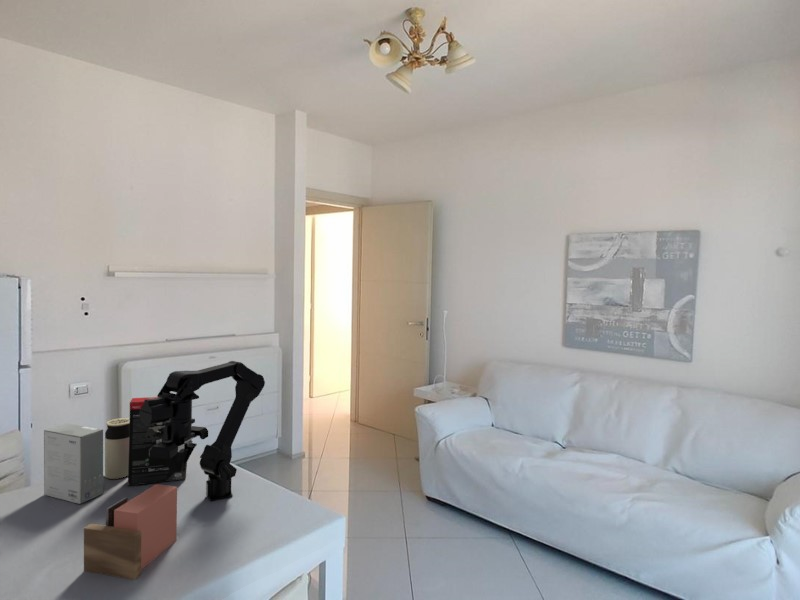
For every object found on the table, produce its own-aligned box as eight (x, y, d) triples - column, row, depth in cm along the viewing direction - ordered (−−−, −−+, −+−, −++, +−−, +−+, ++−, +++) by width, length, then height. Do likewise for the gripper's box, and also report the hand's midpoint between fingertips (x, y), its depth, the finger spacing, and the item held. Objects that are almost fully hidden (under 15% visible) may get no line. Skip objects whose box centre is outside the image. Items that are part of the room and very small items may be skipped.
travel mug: (132, 477, 158) (133, 423, 157) (104, 481, 154) (104, 426, 153) (132, 468, 164) (133, 416, 164) (105, 472, 161) (105, 419, 160)
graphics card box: (187, 472, 163) (188, 393, 162) (187, 480, 157) (188, 398, 155) (130, 479, 156) (130, 396, 155) (127, 488, 150) (128, 402, 148)
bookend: (110, 551, 116) (111, 494, 116) (127, 553, 116) (127, 497, 115) (90, 565, 111) (90, 506, 110) (108, 568, 110) (108, 509, 109)
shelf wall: (91, 565, 111) (91, 523, 110) (141, 574, 108) (141, 531, 108) (83, 571, 109) (83, 528, 108) (134, 579, 106) (134, 535, 106)
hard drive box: (104, 494, 145) (104, 429, 144) (80, 505, 138) (80, 437, 137) (67, 484, 150) (67, 422, 149) (42, 495, 143) (42, 429, 142)
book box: (155, 537, 123) (156, 484, 123) (176, 540, 122) (177, 486, 121) (113, 569, 109) (114, 510, 109) (137, 573, 108) (137, 513, 108)
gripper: (176, 405, 145) (175, 456, 146) (131, 424, 127) (130, 481, 127) (209, 408, 143) (208, 460, 144) (168, 428, 125) (168, 486, 126)
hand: (180, 471), depth 135 cm, fingers closed
